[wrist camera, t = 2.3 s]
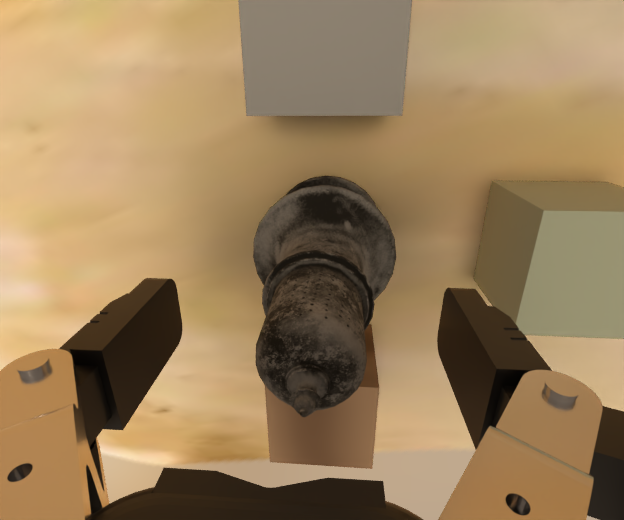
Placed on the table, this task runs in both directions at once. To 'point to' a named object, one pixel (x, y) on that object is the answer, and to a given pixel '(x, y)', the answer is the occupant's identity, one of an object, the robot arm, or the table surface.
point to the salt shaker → (319, 290)
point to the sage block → (555, 257)
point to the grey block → (324, 56)
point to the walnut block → (328, 426)
